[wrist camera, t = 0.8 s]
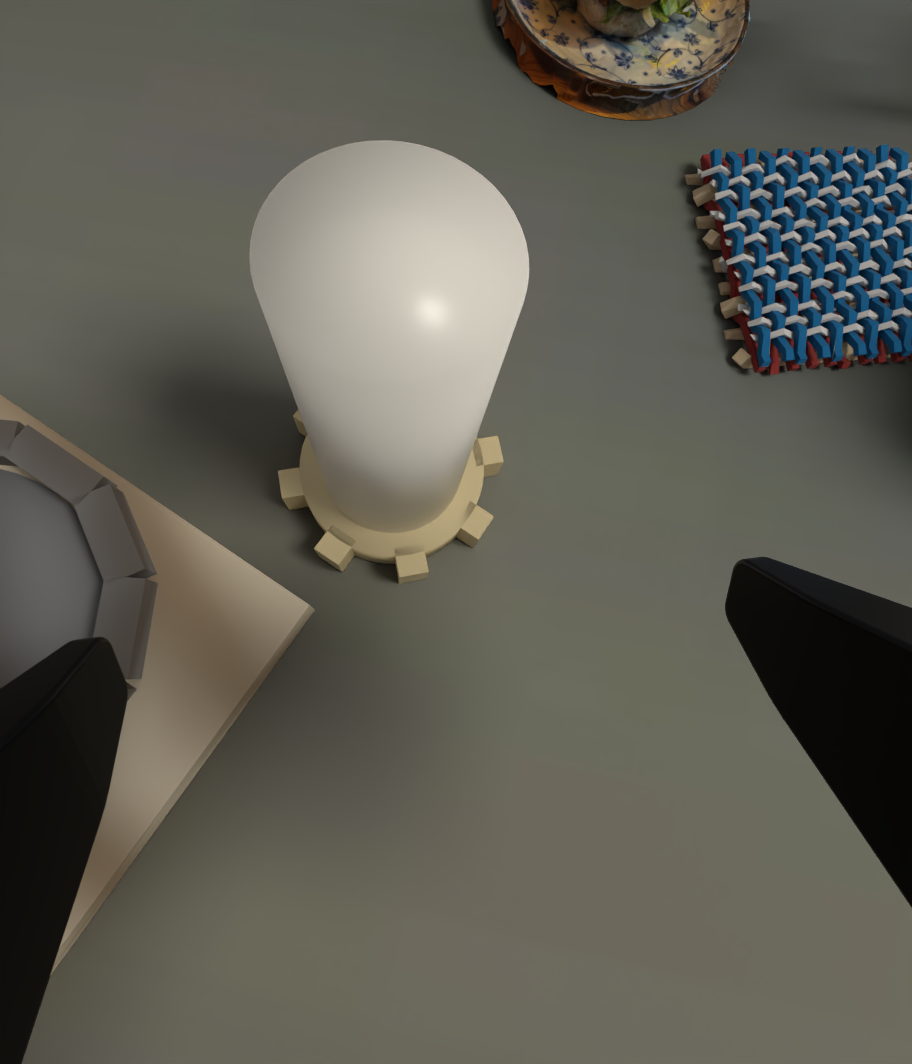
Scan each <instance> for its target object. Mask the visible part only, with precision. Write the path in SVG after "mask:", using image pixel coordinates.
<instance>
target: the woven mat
mask: <svg viewBox="0 0 912 1064" xmlns="http://www.w3.org/2000/svg"><path fill="white" fill-rule="evenodd" d="M822 148H823V147H819V148H811V153H810V156H809V152H803V151H801V150H794V151H793V152H792V153H788V152H789V148H782V149H778V151H777V154H771V153H769V152H768V151H760V154H759V158H758V159H757V160H756V152H755V148H750V149H747V150H746V151H745V152H744V154H736V153H735V152H726V157H725V159H724V158H721V149H714V150H713V151H711V152H710V154H706V155H703V156H702V157H701V159H700V160H701V166H702V171H701V170H700V169H698V174H689V175H685V179H686V183H687V185H703V186H702V187H700V188H698V189H696V190H694V191H692V192H693V199H694V201H695V203H696V205H697V207H699V206H701V205H703V206H704V208H705V209H706V210H708V211H709V212H710V215H709V216H701V217H696V218H695V220H696V224H697V228H698V229H710V231H709V232H708V233H707V234H706V235H705V236H704V237H703V241H704V242H705V244H706V245H707V247H708V248H709V249H710V250H722V254H723V256H721V257H719V258H717V259H714V260H713V261H712V262H713V266H714V270H715V273H727V274H728V278H729V282H721V283H719V284H718V286H719V290H720V294H721V295H730V299H729V300H726V301H724V302H721V303H720V306H721V311H722V313H723V315H724V317H725V319H727V318H729V317H732V318H733V320H735V321H736V322H737V323H738V324H740V327H741V328H735V329H729V330H723V331H724V336H725V339H734V340H745V343H746V346H747V350H748V352H747V351H745V350H744V349H743V348H740V349H739V351H738V352H737V353H736V354H735V355H734V356H733V357H732V359H733V360H734V362H735V363H736V364H738V365H739V366H740V367H742V368H743V369H744V368H753V369H754V372H755V373H757V372H763V371H764V370H765V369H766V367H768V369H769V374H770V375H771V374H779V366H786V367H787V371H793V370H797V369H799V368H800V366H799V365H800V364H806V366H807V369H810V368H815V367H817V366H818V365H819V363H824V366H825V367H832V366H834V365H836V366H838V367H839V368H840V369H845V368H848V367H849V365H850V364H851V362H850V360H858V361H859V364H867V363H869V362H871V361H872V359H874V362H875V364H882V363H884V362H887V360H886V358H889V357H891V359H892V362H900V361H902V360H903V359H905V356H908V357H909V359H910V361H912V171H911V170H910V169H911V168H912V162H911V163H908V158H909V154H908V153H906V152H904V151H903V150H901V149H899V148H891V149H890V152H889V150H888V145H880V146H879V147H877V148H876V155H875V154H873V153H872V151H869V150H867V149H866V148H865V149H858V152H857V155H856V153H854V150H855V147H844V150H843V153H841V151H835V150H834V149H829V150H826V153H825V156H823V155H822V154H821V152H822ZM853 153H854V154H853ZM744 155H745V158H744ZM891 157H892V158H894V159H895V160H896V161H892V159H891ZM875 160H876V162H875ZM726 161H727V162H728V163H729V164H730V165H731V167H729V165H728V163H727V162H726ZM827 167H828V168H827ZM907 177H908V178H907ZM903 187H904V188H903ZM905 188H906V189H905ZM905 197H906V200H905V199H904V198H905ZM722 209H723V210H722ZM713 229H716V230H717V232H716V231H714V230H713ZM888 245H889V246H888ZM878 264H879V265H878ZM811 268H812V269H811ZM741 295H742V296H741ZM817 297H818V299H817ZM876 313H877V314H876ZM800 314H802V315H800ZM799 315H800V316H799ZM863 335H865V339H864V336H863ZM883 342H884V343H883ZM813 347H814V348H813ZM777 349H778V351H777Z"/></svg>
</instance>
